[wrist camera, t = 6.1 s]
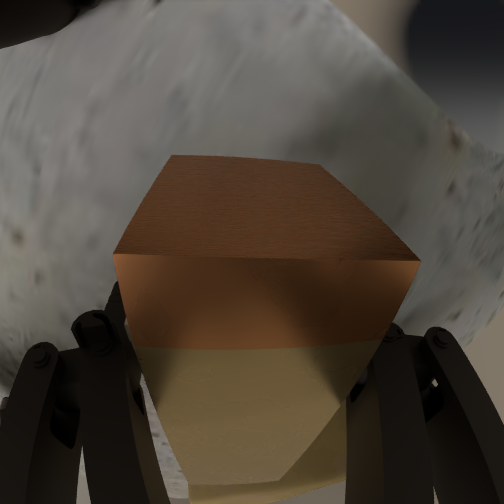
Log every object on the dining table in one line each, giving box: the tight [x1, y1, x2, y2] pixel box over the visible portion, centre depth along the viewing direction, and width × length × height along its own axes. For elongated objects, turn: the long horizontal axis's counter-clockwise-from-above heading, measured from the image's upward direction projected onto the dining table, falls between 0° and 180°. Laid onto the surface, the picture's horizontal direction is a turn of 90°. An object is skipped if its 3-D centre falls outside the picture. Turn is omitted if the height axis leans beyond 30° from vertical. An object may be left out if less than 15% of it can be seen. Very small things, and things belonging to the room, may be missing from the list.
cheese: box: [188, 399, 347, 504], centre depth 28 cm, size 22×10×15 cm, turn 137°
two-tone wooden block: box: [113, 155, 421, 485], centre depth 12 cm, size 15×5×9 cm, turn 174°
